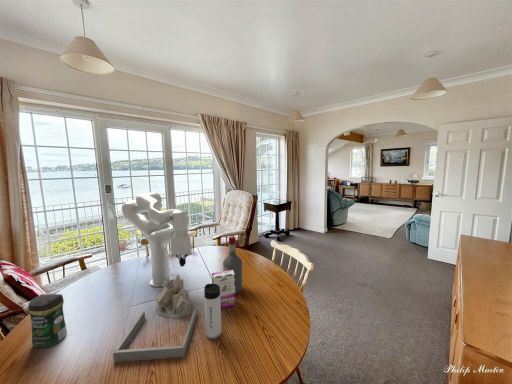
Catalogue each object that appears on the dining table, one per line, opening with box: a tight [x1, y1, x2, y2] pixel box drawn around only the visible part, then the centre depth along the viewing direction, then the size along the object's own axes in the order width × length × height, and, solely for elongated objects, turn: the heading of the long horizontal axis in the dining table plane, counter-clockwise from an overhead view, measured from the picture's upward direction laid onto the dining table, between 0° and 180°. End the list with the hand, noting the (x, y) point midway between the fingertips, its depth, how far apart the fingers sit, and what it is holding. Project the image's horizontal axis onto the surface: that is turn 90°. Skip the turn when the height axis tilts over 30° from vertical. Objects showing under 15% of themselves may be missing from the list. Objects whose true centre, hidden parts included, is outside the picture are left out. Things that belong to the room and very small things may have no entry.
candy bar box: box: [211, 270, 237, 309], centre depth 101 cm, size 11×5×16 cm, turn 105°
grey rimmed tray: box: [112, 307, 198, 363], centre depth 83 cm, size 22×24×4 cm
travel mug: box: [203, 283, 222, 340], centre depth 83 cm, size 6×7×20 cm
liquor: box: [222, 236, 244, 294], centre depth 114 cm, size 9×9×30 cm
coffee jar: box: [27, 293, 68, 348], centre depth 80 cm, size 10×8×19 cm
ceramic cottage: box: [155, 274, 192, 320], centre depth 98 cm, size 16×16×15 cm
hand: (182, 265), depth 113 cm, fingers closed
